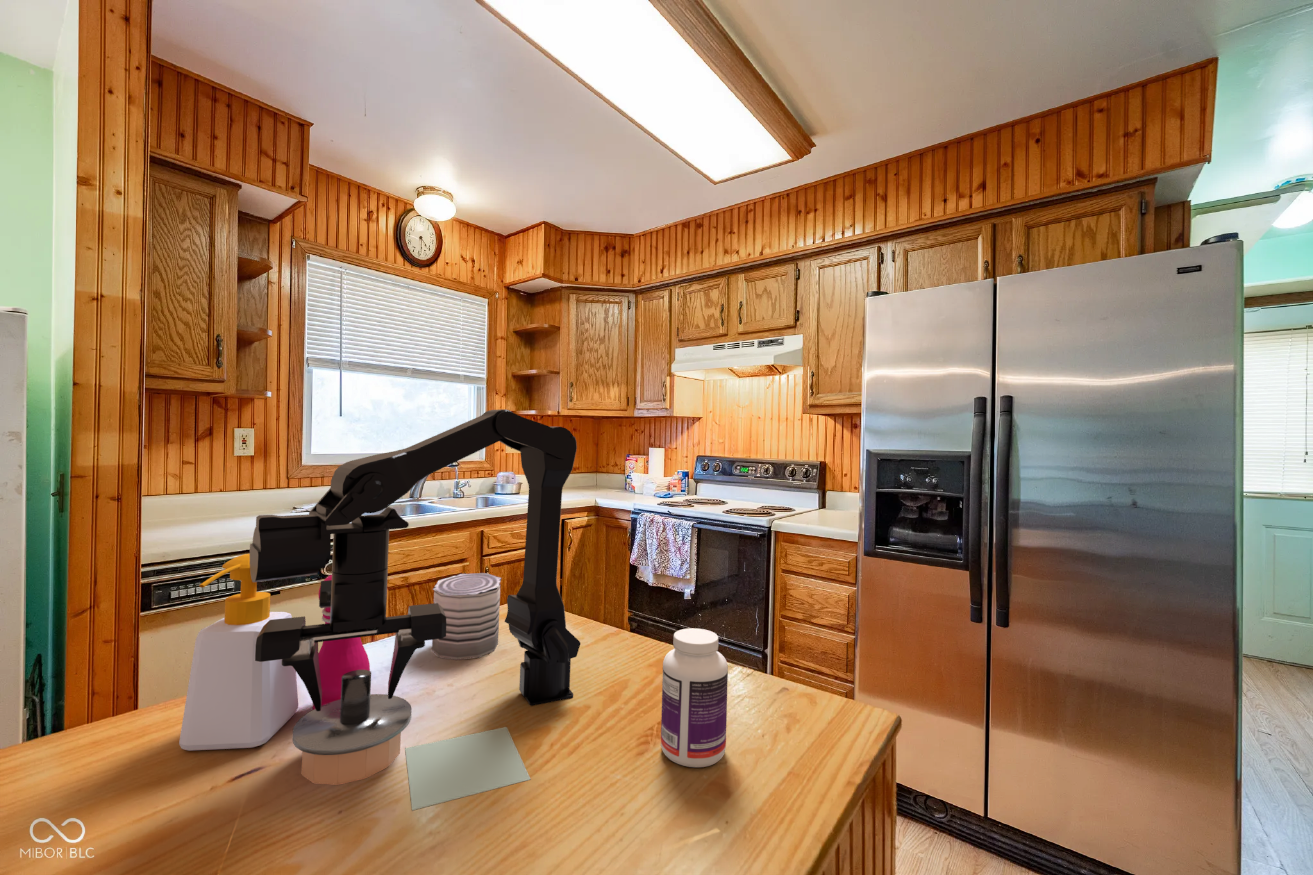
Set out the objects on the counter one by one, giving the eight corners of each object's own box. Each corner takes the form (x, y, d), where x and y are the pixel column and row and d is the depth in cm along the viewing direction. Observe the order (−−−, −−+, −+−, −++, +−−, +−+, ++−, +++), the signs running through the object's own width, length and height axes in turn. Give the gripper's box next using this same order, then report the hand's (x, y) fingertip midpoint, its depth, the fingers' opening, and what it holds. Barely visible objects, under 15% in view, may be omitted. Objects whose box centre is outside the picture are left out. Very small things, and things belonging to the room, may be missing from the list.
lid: (408, 693, 71) (410, 649, 71) (414, 739, 60) (416, 687, 60) (299, 711, 65) (301, 663, 66) (285, 766, 55) (287, 708, 55)
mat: (506, 729, 71) (506, 726, 71) (530, 781, 60) (530, 778, 60) (405, 750, 65) (405, 748, 65) (412, 812, 54) (412, 809, 54)
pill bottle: (731, 742, 69) (735, 630, 70) (717, 778, 62) (721, 652, 62) (671, 729, 72) (674, 621, 72) (650, 762, 65) (655, 641, 65)
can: (512, 645, 99) (514, 579, 99) (460, 665, 90) (463, 593, 90) (469, 631, 105) (472, 569, 105) (417, 649, 96) (420, 581, 96)
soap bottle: (142, 779, 58) (151, 571, 58) (224, 714, 72) (231, 546, 72) (241, 774, 60) (249, 571, 60) (302, 711, 73) (309, 546, 73)
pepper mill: (341, 721, 71) (348, 568, 71) (295, 714, 72) (301, 564, 73) (380, 696, 78) (385, 557, 78) (336, 690, 80) (342, 553, 80)
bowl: (397, 729, 70) (398, 698, 70) (401, 772, 61) (402, 736, 61) (307, 747, 65) (308, 713, 65) (297, 796, 56) (299, 757, 56)
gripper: (438, 550, 75) (434, 664, 75) (274, 559, 66) (268, 688, 66) (449, 568, 65) (444, 699, 65) (257, 582, 56) (251, 734, 56)
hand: (355, 703), depth 63 cm, fingers open, 7 cm apart
